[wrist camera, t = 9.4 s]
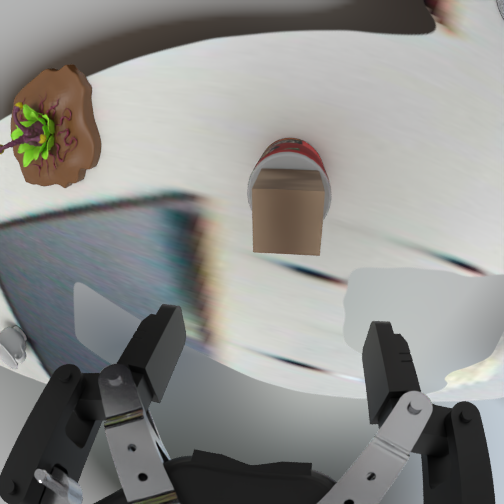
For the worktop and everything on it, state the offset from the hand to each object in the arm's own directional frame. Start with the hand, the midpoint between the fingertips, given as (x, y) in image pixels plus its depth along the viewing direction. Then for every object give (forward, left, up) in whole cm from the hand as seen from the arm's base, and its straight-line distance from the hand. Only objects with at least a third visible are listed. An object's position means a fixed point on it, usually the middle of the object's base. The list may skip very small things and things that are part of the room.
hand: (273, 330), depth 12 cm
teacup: (+74, +45, -28) cm, 91 cm away
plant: (+37, -8, -28) cm, 47 cm away
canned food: (0, 0, -28) cm, 28 cm away
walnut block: (0, 0, -17) cm, 17 cm away
